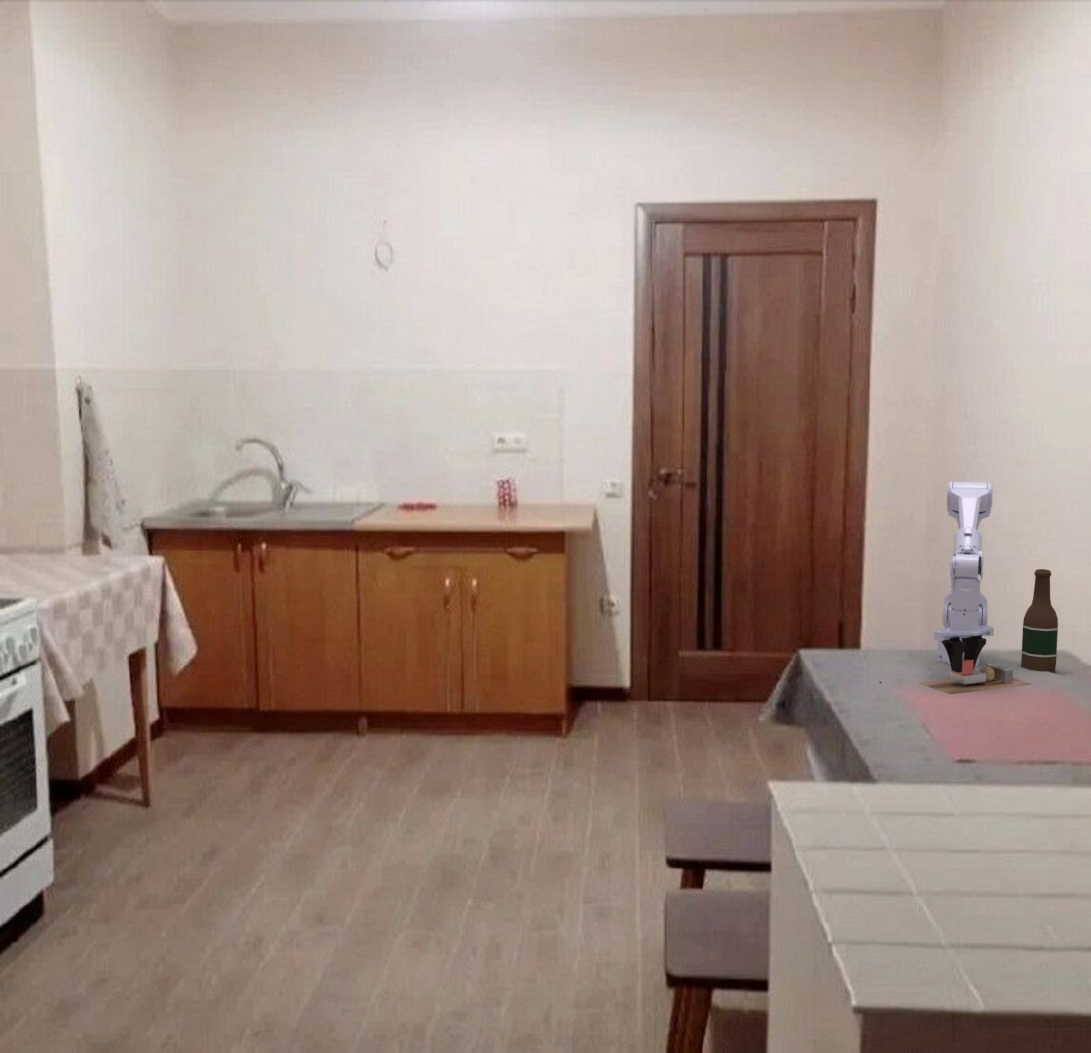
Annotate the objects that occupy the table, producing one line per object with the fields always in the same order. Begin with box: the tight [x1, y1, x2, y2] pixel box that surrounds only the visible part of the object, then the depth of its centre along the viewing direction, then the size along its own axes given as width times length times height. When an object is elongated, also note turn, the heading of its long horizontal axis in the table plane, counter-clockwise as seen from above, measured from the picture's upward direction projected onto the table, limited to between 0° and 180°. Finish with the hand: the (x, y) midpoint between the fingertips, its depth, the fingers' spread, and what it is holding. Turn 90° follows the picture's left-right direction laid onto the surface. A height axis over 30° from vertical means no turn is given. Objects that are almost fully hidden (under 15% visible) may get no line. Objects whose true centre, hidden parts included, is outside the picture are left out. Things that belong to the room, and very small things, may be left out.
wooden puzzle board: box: [919, 663, 1031, 695], centre depth 241 cm, size 10×22×4 cm, turn 111°
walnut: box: [978, 665, 995, 682], centre depth 242 cm, size 4×4×4 cm
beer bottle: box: [1020, 568, 1059, 674], centre depth 254 cm, size 8×8×24 cm
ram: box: [949, 657, 986, 684], centre depth 240 cm, size 4×6×5 cm
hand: (962, 670), depth 240 cm, fingers closed on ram, 3 cm apart
